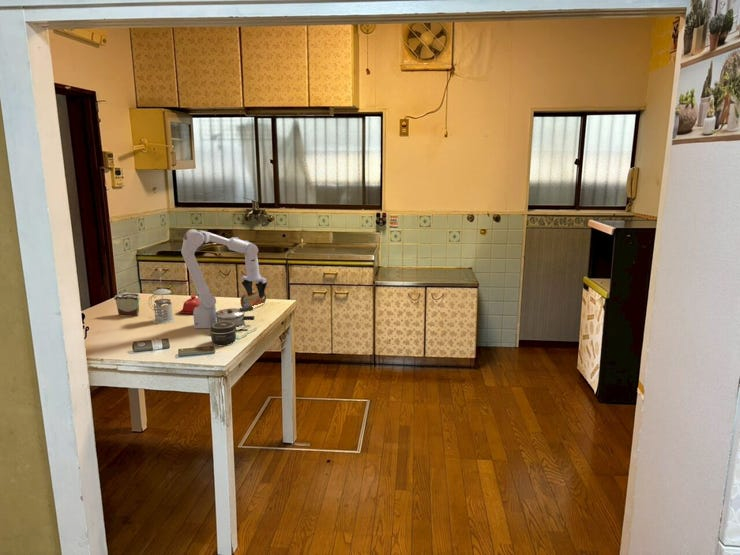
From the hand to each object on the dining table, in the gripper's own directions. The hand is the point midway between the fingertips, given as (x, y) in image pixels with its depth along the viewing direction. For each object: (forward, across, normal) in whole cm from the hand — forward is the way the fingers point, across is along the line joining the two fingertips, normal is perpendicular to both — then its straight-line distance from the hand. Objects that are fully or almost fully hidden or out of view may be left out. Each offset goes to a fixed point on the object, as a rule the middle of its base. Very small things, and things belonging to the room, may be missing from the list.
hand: (255, 296), depth 241 cm
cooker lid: (+4, -1, +15) cm, 15 cm away
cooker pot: (+10, -2, +16) cm, 19 cm away
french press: (+8, +35, +28) cm, 45 cm away
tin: (+12, +16, -12) cm, 23 cm away
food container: (+8, +56, +30) cm, 64 cm away
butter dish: (+10, +35, +10) cm, 37 cm away
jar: (+10, -12, +31) cm, 35 cm away
